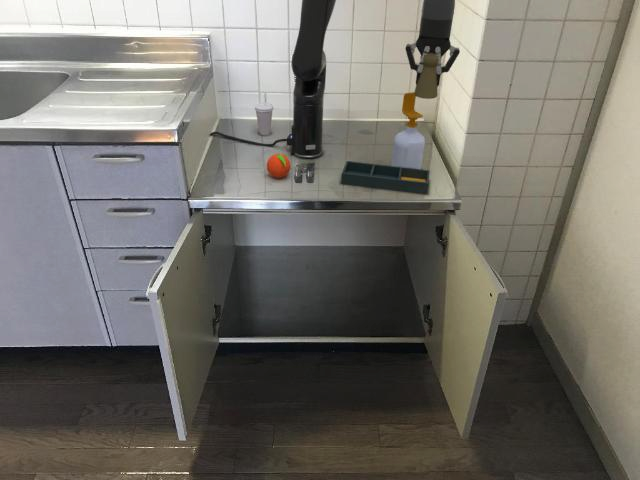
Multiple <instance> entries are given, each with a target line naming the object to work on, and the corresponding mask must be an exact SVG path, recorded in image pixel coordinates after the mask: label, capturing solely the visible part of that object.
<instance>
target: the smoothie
mask: <svg viewBox="0 0 640 480" xmlns="http://www.w3.org/2000/svg"><path fill="white" fill-rule="evenodd" d="M254 110H255V114H256V121H257V126H258V132H259V135H260V136H269V135H270V134H271V129H272V121H273V120H272V119H273V111H274V105H273V104H272V103H268V102H267V93H266V92H265V93H264V102H261V103H257V104H255V105H254Z"/></svg>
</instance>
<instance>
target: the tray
mask: <svg viewBox="0 0 640 480" xmlns="http://www.w3.org/2000/svg"><path fill="white" fill-rule="evenodd" d="M340 179H341V181H340V183H341V185H347V186H348V185H349V186H358V187H365V188H372V189H380V190H381V189H382V190H390V191H396V192H397V191H398V192H405V193H412V194H413V193H414V194H421V195H428V193H429V192H428V190H429V185H430V169H422V168H421V169H413V168H405V167H396V166H391V165H387V164H386V165H385V164H378V163H370V162H362V161H361V162H360V161H352V160H346V161H345V164H344V166H343V169H342V171H341V178H340Z"/></svg>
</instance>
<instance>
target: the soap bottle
mask: <svg viewBox="0 0 640 480" xmlns="http://www.w3.org/2000/svg"><path fill="white" fill-rule="evenodd" d="M414 92H415V91H412V92H405V93H404V94H403V99H402V107H401V113H402V114H403V116H406V117H407V119H408V120H409V121H407V122H406V123H405V129H404V130H402V131H400V132H398V133H397V134H396V135H395V137H394V139H393V147H392V153H391V154H392V155H391V164H390V166H396V167H405V168H413V169H422V164H423V158H424V157H423V156H424V151H425V144H426V140H425V137H424V136H423V135H422V134H421V133H420V132H418V122H416V121H417V120H418V119H421V118H423V114H421V113H420V112H417V111H416V109H415V105H416V98H417V97H416V96H415V95H414Z"/></svg>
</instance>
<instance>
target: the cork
mask: <svg viewBox="0 0 640 480" xmlns="http://www.w3.org/2000/svg"><path fill="white" fill-rule="evenodd" d="M438 57H439V56H437V55H436V53H428V54H426V55H424V58H423V69H422V72H421V75H420V79H418V83H417V85H416V84H415V88H414V91H413V92H414V95H415V96H416V98H419V99H426V100H431V99H436V98H438V90H439V89H438V87H439V86H438V87H437V84H436V79H437V71H436V66H437V64H438V61H439V59H438ZM442 57H443V56H442ZM442 57H441V60H442ZM421 58H422V56H421V55H420V58H419V59H420V60H421ZM420 60H419V61H420Z"/></svg>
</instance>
